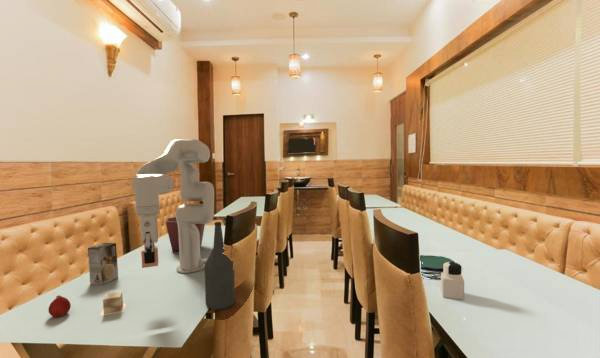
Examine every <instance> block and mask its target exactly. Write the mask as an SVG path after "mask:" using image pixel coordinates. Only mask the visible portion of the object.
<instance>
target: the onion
mask: <svg viewBox="0 0 600 358" xmlns="http://www.w3.org/2000/svg"><path fill="white" fill-rule="evenodd" d="M55 297H56V298H54V300H52V301H51V302H50V304H49V306H48V313H49V315H50V316H52V317H53V318H61V317H64V316H66V315H67V314H68V313H69V311H70V310H71V307H72V305H71V302H70V300H69V299H68V298H66V297H65V296H61V294H60V295H59V294H58V295H56V296H55Z"/></svg>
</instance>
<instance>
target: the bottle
mask: <svg viewBox="0 0 600 358" xmlns="http://www.w3.org/2000/svg"><path fill="white" fill-rule="evenodd" d="M222 228H223V227H222V221H216V222H214V234H213V247H212V250H211V251H210V253H209V255H208V257H207V258H206V259H207V260H206V262H205V264H204V268H203V269H204V291H205V292H204V294H205V295H204V296H205V305H206V307H207V309H209V310H213V311H220V310H226V309H228V308H230V307H231V308H232V306H233V305H234V303H235V300H236V290H235V289H236V287H235V269H234V270H233V261H234V260H233V261H231V260H230V259H229V258H228V257H227V256H226V255H224V254H222V253H223V252H224V251H225V250H224V249H223V247H224V248H225V243H224V237H223V230H222Z"/></svg>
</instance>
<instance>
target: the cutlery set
mask: <svg viewBox="0 0 600 358" xmlns="http://www.w3.org/2000/svg"><path fill="white" fill-rule="evenodd" d="M419 255H420V261H421V268H420V269H427V270H433V271H435V272H433V271H428V272H429V274H433V273H439V274H433V275H435V276H434V277H430V279H429V280H432V279H435V280H441V273H443V272H442V271H443V264H444V263H446V262H454V263H456V262H455V261H454V260H453V259H452V258H450V257H446V256H442V255H426V254H424V255H423V254H422V255H421V254H419ZM422 262H423V264H422ZM436 271H438V272H436ZM440 271H441V272H440ZM422 272H423V271H421V272H420V273H421V276H423V274H422ZM422 279H424V278H422ZM424 280H425V279H424Z"/></svg>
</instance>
